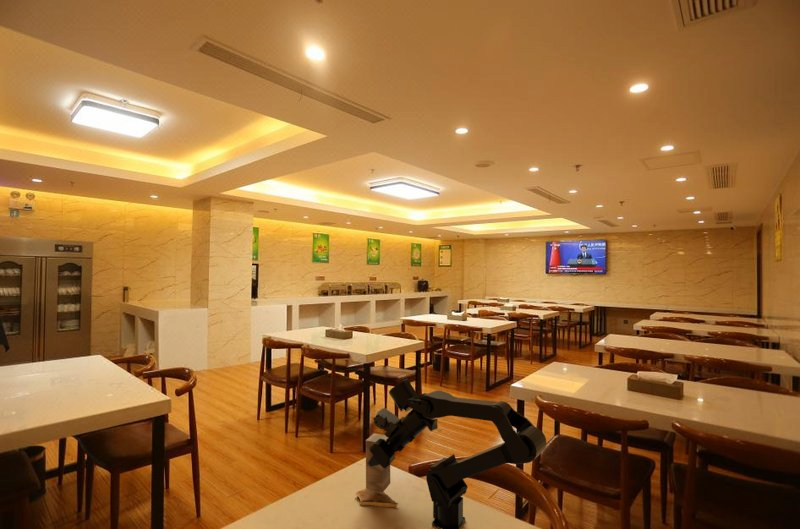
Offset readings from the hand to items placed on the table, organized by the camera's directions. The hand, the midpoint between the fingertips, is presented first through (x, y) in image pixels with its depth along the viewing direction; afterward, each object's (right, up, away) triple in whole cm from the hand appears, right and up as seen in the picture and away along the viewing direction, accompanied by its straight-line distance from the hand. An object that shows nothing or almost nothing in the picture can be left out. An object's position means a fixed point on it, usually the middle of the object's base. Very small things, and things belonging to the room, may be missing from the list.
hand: (373, 460), depth 108 cm
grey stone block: (+1, -7, -1) cm, 7 cm away
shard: (+1, -11, -1) cm, 11 cm away
